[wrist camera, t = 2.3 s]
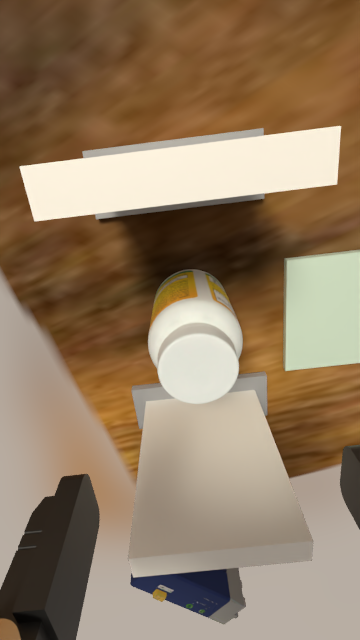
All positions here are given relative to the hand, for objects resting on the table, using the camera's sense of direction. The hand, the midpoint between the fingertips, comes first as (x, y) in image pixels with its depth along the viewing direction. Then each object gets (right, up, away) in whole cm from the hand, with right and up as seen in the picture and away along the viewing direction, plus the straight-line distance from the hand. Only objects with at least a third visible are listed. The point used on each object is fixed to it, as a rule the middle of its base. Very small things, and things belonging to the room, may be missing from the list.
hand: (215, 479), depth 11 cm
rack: (0, +6, +14) cm, 16 cm away
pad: (+11, +6, +15) cm, 20 cm away
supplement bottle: (0, +6, +15) cm, 16 cm away
